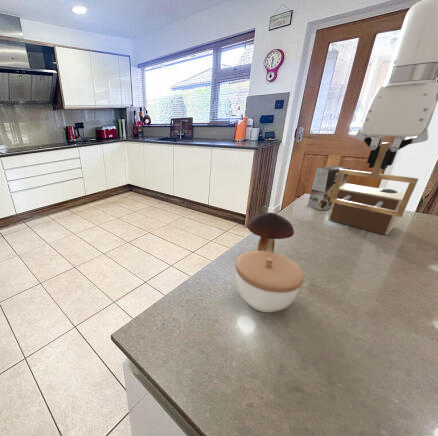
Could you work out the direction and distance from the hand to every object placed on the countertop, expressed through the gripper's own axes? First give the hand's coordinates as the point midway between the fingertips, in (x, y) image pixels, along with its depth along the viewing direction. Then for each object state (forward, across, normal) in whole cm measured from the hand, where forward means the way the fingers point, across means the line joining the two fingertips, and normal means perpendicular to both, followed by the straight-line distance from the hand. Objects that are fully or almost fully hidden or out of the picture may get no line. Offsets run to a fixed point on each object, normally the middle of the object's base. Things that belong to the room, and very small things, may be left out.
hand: (377, 167), depth 55 cm
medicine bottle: (+24, 0, -30) cm, 39 cm away
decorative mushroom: (+25, +13, +20) cm, 35 cm away
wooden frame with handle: (+11, 0, 0) cm, 11 cm away
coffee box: (+25, +18, -34) cm, 46 cm away
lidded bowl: (+25, +6, +33) cm, 42 cm away
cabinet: (+25, +4, -21) cm, 33 cm away
